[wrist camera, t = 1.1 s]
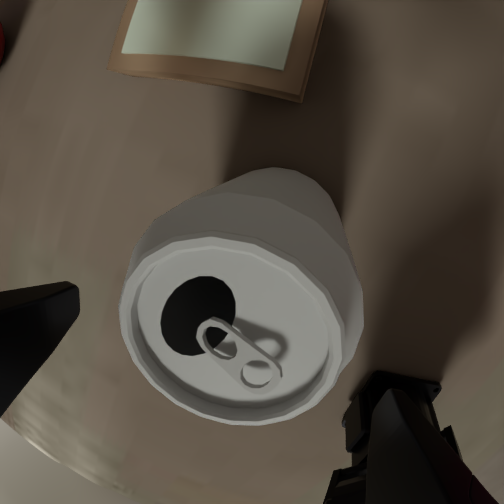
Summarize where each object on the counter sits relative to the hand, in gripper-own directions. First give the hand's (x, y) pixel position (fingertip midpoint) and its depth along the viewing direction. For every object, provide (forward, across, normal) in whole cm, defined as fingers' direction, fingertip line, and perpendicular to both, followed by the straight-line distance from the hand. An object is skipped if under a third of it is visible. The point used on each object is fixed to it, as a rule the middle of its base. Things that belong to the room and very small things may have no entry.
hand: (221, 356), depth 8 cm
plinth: (+12, +6, -13) cm, 19 cm away
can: (+12, 0, 0) cm, 12 cm away
